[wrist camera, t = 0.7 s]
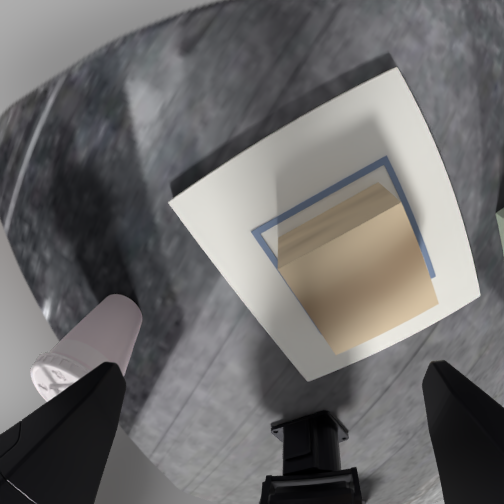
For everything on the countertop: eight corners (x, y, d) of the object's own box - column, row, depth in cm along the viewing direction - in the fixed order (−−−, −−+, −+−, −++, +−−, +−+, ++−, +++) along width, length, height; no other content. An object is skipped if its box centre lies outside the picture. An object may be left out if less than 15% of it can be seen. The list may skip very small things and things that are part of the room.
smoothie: (79, 309, 25) (-5, 428, 13) (107, 264, 23) (-2, 398, 10) (136, 352, 27) (76, 484, 14) (172, 314, 24) (105, 472, 12)
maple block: (416, 270, 20) (438, 303, 16) (328, 316, 22) (335, 355, 19) (378, 182, 18) (401, 202, 14) (278, 237, 20) (277, 269, 16)
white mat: (475, 289, 21) (481, 296, 20) (307, 373, 26) (307, 382, 25) (391, 68, 16) (397, 66, 15) (173, 197, 20) (167, 203, 19)
